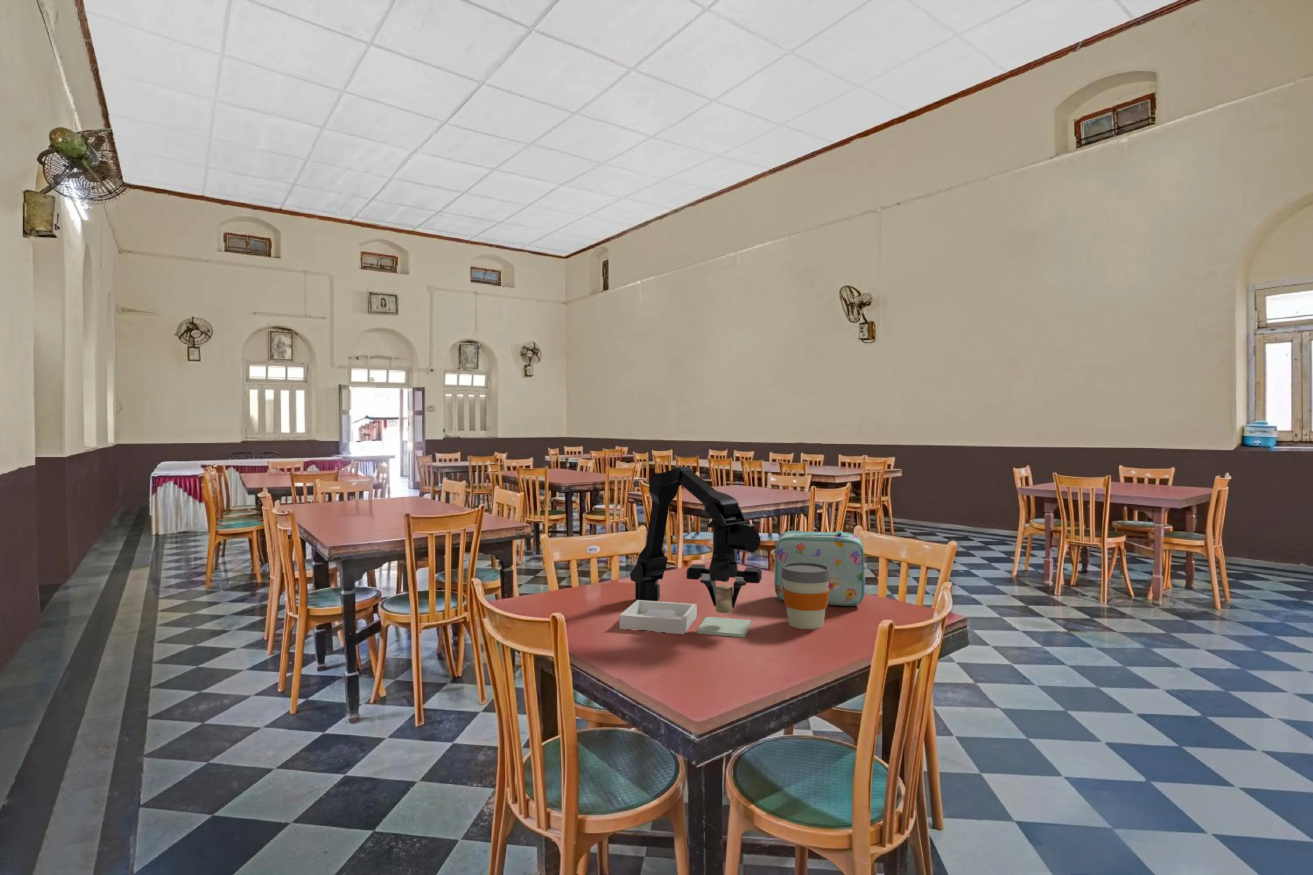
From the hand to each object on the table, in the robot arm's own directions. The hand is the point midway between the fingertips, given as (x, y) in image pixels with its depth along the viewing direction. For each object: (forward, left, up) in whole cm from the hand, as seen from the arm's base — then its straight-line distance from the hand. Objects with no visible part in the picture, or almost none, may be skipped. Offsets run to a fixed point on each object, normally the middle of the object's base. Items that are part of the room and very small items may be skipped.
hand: (724, 606), depth 171 cm
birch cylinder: (0, 0, -1) cm, 1 cm away
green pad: (0, 0, -6) cm, 6 cm away
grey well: (-17, 0, -6) cm, 18 cm away
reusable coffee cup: (+20, +9, -6) cm, 23 cm away
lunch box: (+23, +32, -6) cm, 40 cm away
